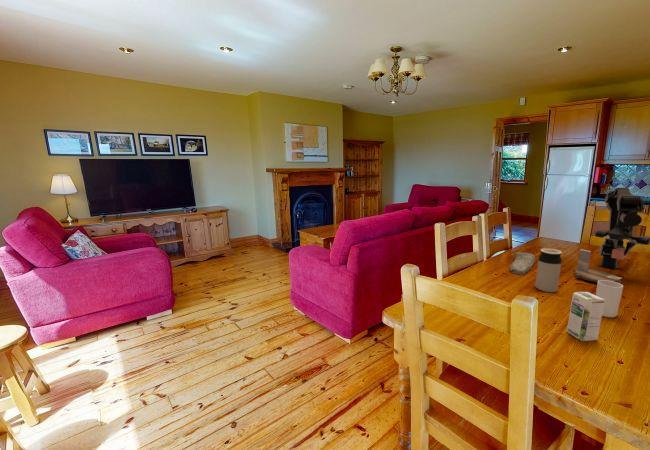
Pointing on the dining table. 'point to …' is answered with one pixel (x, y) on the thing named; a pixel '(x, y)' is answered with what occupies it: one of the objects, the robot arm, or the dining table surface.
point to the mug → (609, 296)
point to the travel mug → (548, 270)
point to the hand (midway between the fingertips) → (619, 254)
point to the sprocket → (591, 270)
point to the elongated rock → (522, 263)
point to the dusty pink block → (618, 253)
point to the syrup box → (585, 316)
